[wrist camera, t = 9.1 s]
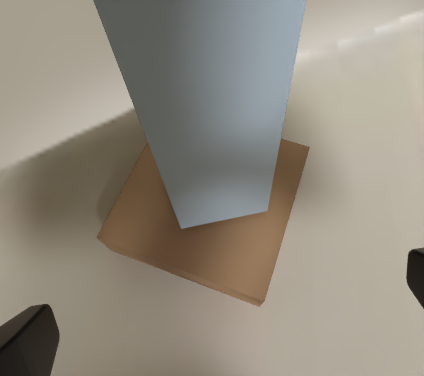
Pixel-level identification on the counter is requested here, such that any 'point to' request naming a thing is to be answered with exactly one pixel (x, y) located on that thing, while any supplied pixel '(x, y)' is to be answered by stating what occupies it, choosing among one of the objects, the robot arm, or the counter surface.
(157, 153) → the slate pillar
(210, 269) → the walnut base block
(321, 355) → the counter surface
